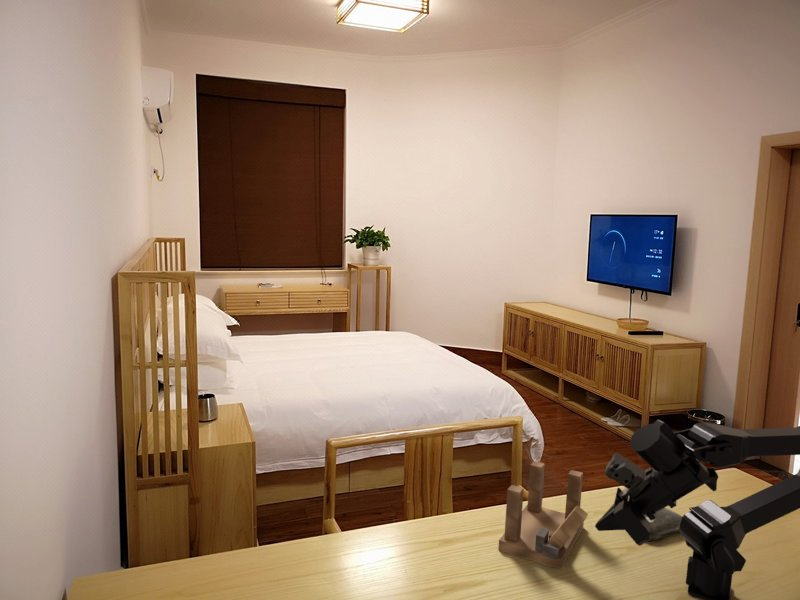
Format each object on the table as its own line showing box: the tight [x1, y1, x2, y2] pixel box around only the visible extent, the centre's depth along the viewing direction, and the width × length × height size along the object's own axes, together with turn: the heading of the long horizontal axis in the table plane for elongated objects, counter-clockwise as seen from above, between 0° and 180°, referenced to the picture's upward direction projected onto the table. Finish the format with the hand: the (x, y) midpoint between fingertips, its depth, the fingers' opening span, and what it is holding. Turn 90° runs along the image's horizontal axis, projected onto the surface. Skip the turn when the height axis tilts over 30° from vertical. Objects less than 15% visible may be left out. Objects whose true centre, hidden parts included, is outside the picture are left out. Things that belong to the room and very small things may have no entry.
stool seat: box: [497, 460, 585, 570], centre depth 119 cm, size 12×19×12 cm, turn 150°
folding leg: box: [547, 505, 589, 550], centre depth 110 cm, size 2×3×10 cm
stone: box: [645, 507, 683, 542], centre depth 125 cm, size 14×4×10 cm
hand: (596, 527), depth 107 cm, fingers closed
